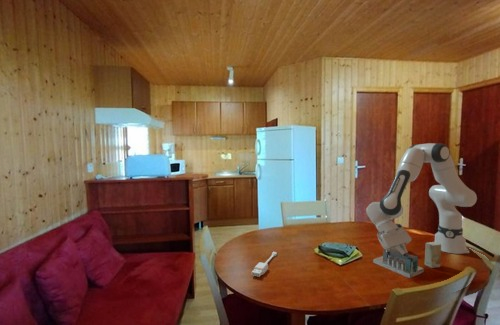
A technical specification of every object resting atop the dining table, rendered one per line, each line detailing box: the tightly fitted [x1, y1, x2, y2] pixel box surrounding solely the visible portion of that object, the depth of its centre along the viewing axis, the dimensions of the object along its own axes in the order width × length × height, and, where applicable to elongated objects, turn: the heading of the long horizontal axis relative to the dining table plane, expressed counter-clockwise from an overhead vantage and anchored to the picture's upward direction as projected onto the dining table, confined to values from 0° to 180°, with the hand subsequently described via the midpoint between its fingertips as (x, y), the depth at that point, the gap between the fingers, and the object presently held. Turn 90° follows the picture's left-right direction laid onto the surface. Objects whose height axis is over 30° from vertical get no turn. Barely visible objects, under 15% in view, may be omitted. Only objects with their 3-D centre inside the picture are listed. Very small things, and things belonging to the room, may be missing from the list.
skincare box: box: [424, 241, 442, 269], centre depth 142 cm, size 6×4×12 cm
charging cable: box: [251, 251, 278, 278], centre depth 147 cm, size 5×32×3 cm, turn 157°
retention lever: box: [386, 249, 419, 262], centre depth 139 cm, size 2×4×15 cm
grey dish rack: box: [372, 249, 425, 279], centre depth 141 cm, size 20×12×8 cm, turn 29°
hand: (405, 253), depth 137 cm, fingers closed, pressing on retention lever
